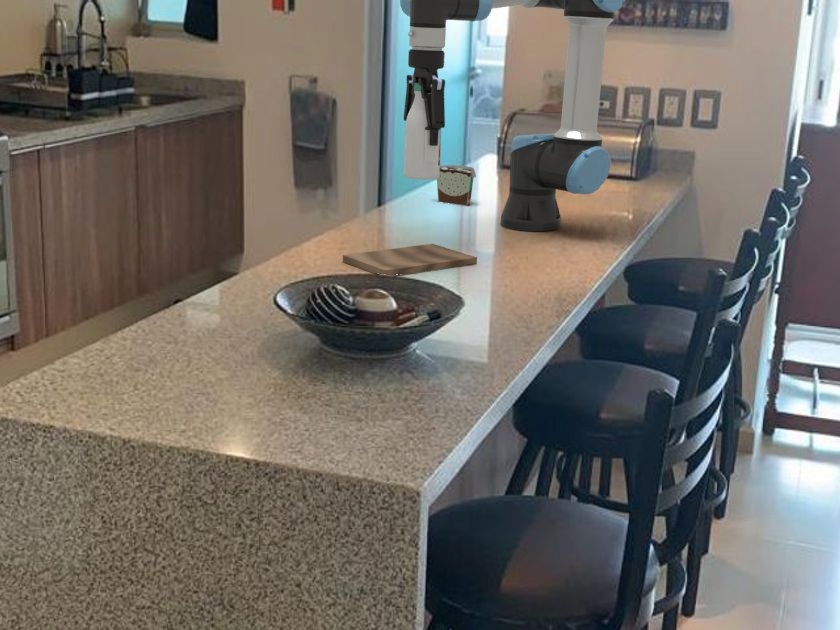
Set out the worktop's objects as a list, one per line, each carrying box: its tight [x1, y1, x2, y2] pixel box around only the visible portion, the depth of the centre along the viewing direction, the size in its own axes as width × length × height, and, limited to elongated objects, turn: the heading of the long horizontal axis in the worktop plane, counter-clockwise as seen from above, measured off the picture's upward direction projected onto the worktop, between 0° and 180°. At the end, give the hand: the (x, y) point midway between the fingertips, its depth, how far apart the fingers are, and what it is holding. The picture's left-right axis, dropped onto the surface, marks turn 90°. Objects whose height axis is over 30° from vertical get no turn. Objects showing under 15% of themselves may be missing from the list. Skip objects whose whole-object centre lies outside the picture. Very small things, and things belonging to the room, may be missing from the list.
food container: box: [436, 164, 477, 207], centre depth 321 cm, size 12×6×10 cm, turn 58°
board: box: [342, 243, 478, 276], centre depth 250 cm, size 24×16×2 cm, turn 126°
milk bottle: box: [403, 83, 442, 181], centre depth 246 cm, size 8×8×20 cm
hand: (422, 158), depth 248 cm, fingers closed on milk bottle, 8 cm apart
